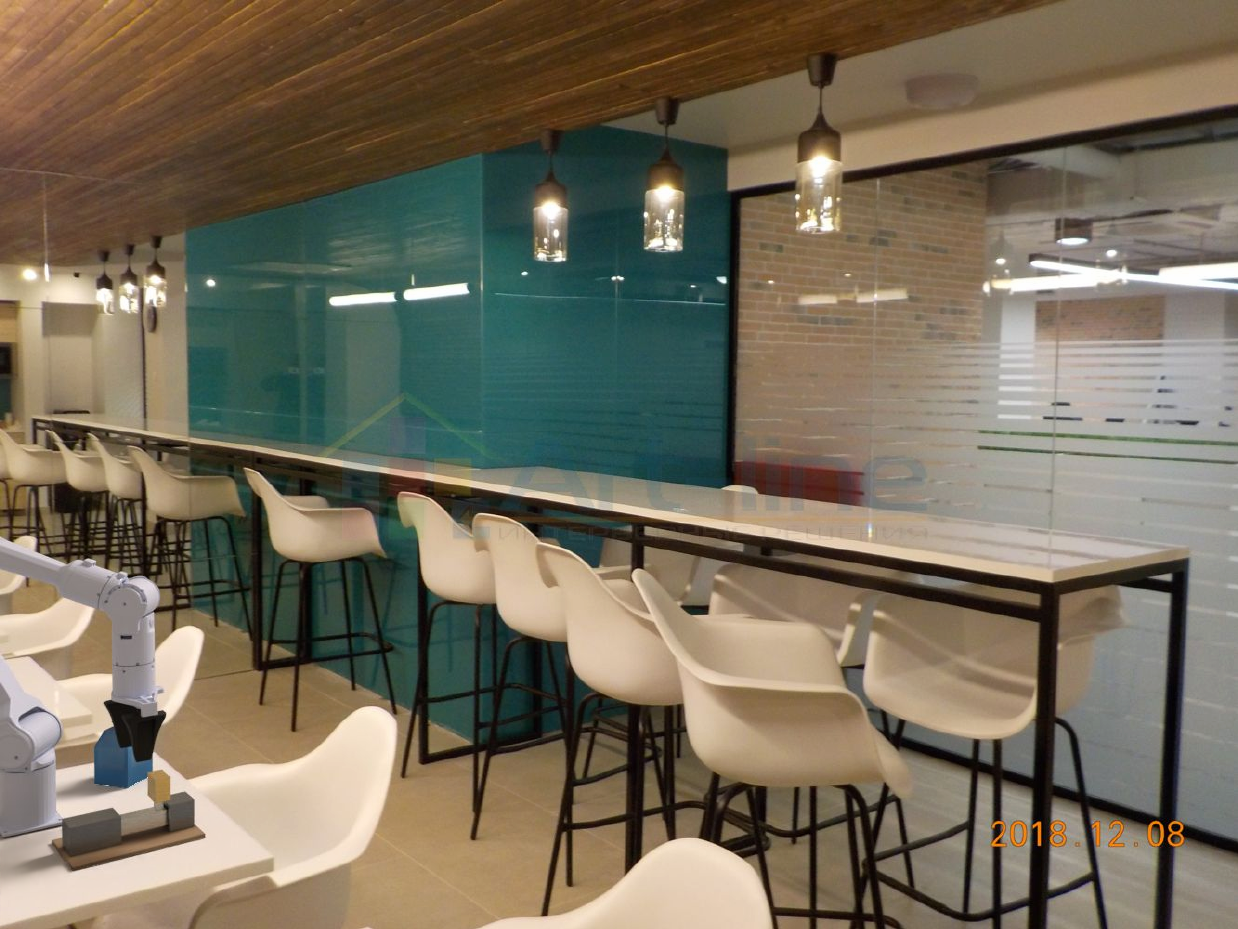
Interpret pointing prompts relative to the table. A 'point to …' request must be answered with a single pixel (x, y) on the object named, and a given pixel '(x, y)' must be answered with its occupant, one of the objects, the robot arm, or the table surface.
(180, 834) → the walnut board
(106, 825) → the sleeve and socket
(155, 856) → the table surface
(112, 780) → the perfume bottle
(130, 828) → the pale bar
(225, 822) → the table surface
